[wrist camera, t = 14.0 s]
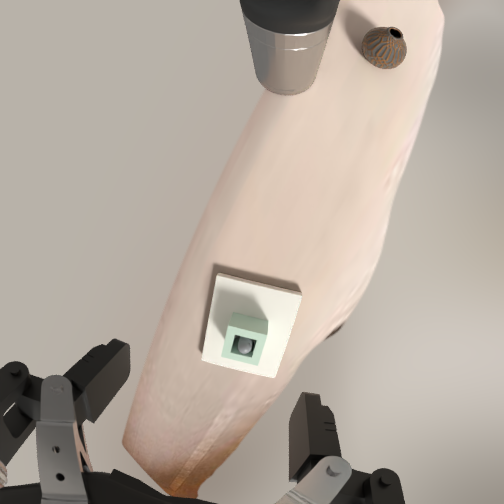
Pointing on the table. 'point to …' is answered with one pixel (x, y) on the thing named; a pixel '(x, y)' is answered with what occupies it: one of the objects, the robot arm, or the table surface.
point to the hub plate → (255, 305)
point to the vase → (384, 47)
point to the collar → (248, 329)
